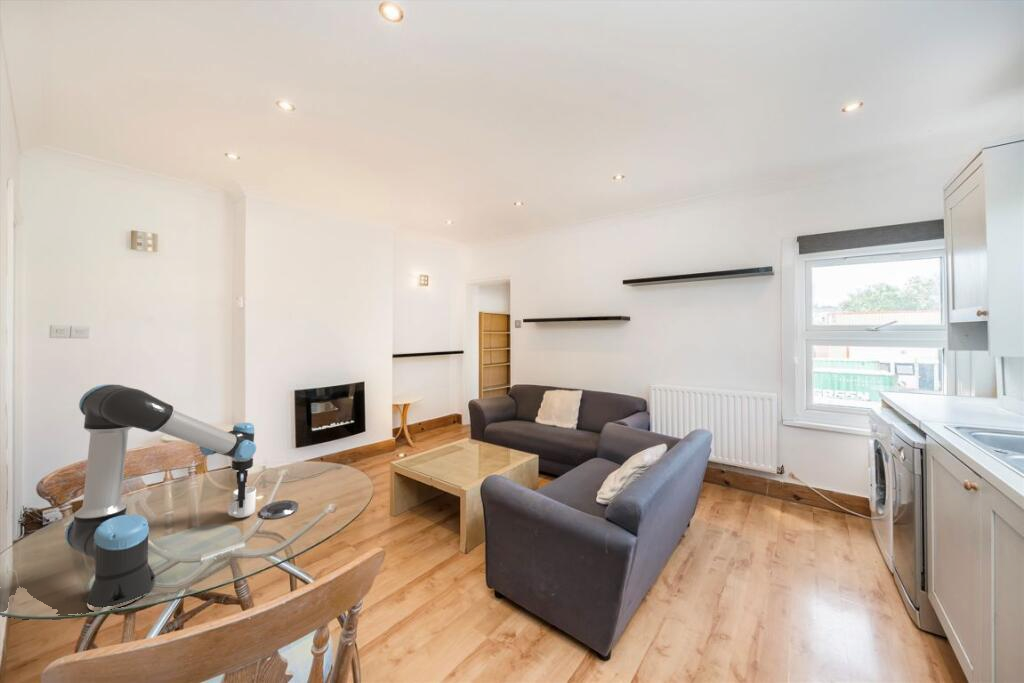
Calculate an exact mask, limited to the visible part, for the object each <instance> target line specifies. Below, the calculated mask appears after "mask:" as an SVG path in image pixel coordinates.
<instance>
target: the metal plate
mask: <svg viewBox="0 0 1024 683" xmlns="http://www.w3.org/2000/svg"><path fill="white" fill-rule="evenodd" d="M298 510H299V502H297V501H294V500H290V499H289V500H288V499H287V500H286V499H285V500H283V499H282V500H278V501H274V502H270V503H268V504H265V506H263V507H262V508H261V509H260V510H259V516H260V517H261V518H262V517H264V518H265V520H280V519H283V518H286V517H289V516H292V515H293V514H294V513H296V512H297V511H298ZM264 518H263V519H264Z"/></svg>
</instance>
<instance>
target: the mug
mask: <svg viewBox="0 0 1024 683" xmlns="http://www.w3.org/2000/svg"><path fill="white" fill-rule="evenodd" d="M236 499H238V488H237V489H235V490H234V491H233V492H232V500H230V502H229V504H228V506H227V513H228V515H229V516H231V517H233V518H236V519H240V518H242V519H243V518H247V517H249V516H252V515H253V514H254V513H255V511H256V501H257V500H256V499H257V488H256V487H254V486H247V487H245V512H244V514H241V515H237V501H236Z"/></svg>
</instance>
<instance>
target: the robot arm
mask: <svg viewBox="0 0 1024 683" xmlns="http://www.w3.org/2000/svg"><path fill="white" fill-rule="evenodd" d="M78 406H79V410H80V412H81V414H82V415H83V416H84V423H83V429H84V430H86V431H87V432H89V433H90V434H89V435H90V436H89V444H88V454H87V461H86V462H87V463H86V471H85V479H84V488H83V489H84V490H83V499H82V506H81V507H80V508H79V509H78V510H76V511H75V512H74V517H73V520H72V521H70V523H69V524H68V525H67V527H66V529H65V532H64V536H65V537H64V539H65V541H66V543H67V544H68V545H69V546H70V547H71V548H72V549H73V550H75V551H78V552H80V553H81V554H84V555H85V556H88V557H90V558H92V559H93V560H94V580H93V583H92V585H91V588H90V589H89V590H90V591H89V593H88V594H87V597H86V599H85V600H86V602H87V603H88V604H89V605H92V606H94V607H102V608H103V607H107V606H114V605H117V604H120V603H123V602H126V601H129V600H132V599H135V598H137V597H140V596H143V595H144V594H146V593H148V592H149V591H150V590H151V589H152V588H153V587H155V586H156V575H155V573H154V571H153V569H152V567H151V566H150V563H149V533H150V532H149V531H150V527H149V523H148V519H147V518H146V517H145V516H143V515H141V514H136V513H134V514H131V515H130V514H126V513H127V506H128V505H127V503H126V502H124V501H123V500H122V495H123V494H122V492H123V486H124V485H123V483H124V482H123V481H124V474H125V465H126V456H127V448H128V447H127V446H128V439H129V430H131V429H132V428H136V429H140V430H144V431H146V432H150V433H154V432H160V433H162V434H166V435H168V436H171V437H174V438H177V439H179V440H182V441H185V442H188V443H190V444H193V445H196V446H199V451H200V453H201V454H202V455H203V456H211V455H212V456H213V455H216V454H219V455H222V456H226V457H229V458H231V460H232V461H231V470H233V471H236V484H237V489H238V499H236V501H237V515H241V514H244V512H245V487H248V486H247V485H246V483H247V481H248V479H247V478H248V472H249V471H248V470H249V469H251V468H252V467H253V466H254V458H253V457H254V455H255V453H256V452H257V445H256V443H255V435H256V434H255V433H256V432H255V425H254V424H253V423H251V422H240V423H235V424H233V427H232V430H230V431H226V430H224V429H220V428H219V427H216V426H213V425H211V424H208V423H206V422H204V421H201V420H199V419H196V418H194V417H192V416H190V415H187V414H185V413H181V411H178V410H175V407H174V406H173V405H171V404H169V403H167V402H165V401H163V400H161V399H159V398H157V397H155V396H153V395H151V394H149V393H148V392H146V391H143V390H141V389H138V388H133V387H129V386H124V385H121V384H109V383H108V384H102V385H101V384H100V385H97V386H94V387H92V388H90V389H89V390H88V391H86V392H85V393H84V394H83V395H82V396H81V398H80V400H79V403H78ZM154 585H155V586H154ZM153 589H154V588H153ZM153 589H152V590H153ZM152 590H151V591H152ZM151 591H150V592H151ZM150 592H149V593H150ZM149 593H148V594H149Z"/></svg>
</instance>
